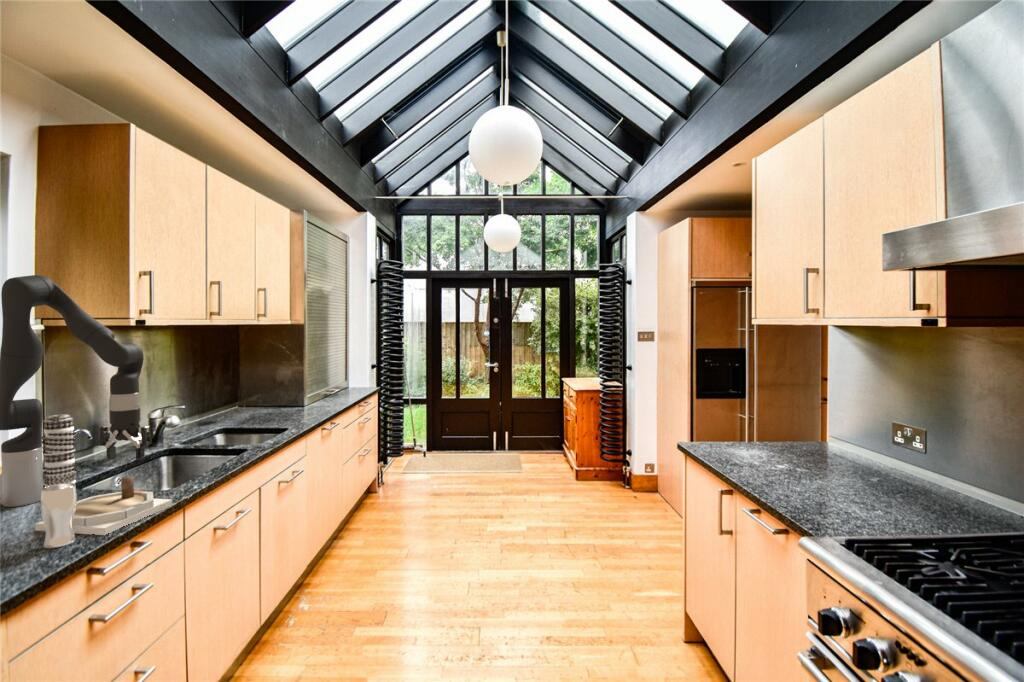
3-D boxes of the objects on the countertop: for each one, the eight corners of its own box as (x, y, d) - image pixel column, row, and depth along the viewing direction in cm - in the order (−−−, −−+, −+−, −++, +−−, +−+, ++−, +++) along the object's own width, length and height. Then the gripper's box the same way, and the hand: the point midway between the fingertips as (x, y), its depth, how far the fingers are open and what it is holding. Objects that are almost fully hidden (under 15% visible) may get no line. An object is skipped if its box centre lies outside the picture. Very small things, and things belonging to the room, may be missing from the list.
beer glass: (57, 537, 129) (55, 482, 129) (84, 537, 130) (83, 482, 130) (33, 549, 122) (32, 491, 122) (63, 548, 123) (61, 490, 123)
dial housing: (35, 530, 134) (35, 515, 134) (111, 502, 156) (111, 488, 156) (104, 535, 131) (104, 519, 131) (172, 505, 153) (171, 492, 153)
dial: (106, 522, 134) (106, 495, 134) (52, 519, 136) (52, 493, 136) (158, 500, 151) (157, 477, 151) (109, 498, 153) (108, 475, 152)
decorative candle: (84, 480, 177) (83, 413, 177) (57, 489, 168) (55, 418, 167) (63, 479, 179) (61, 412, 178) (35, 487, 169) (33, 417, 169)
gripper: (91, 409, 145) (92, 462, 146) (139, 410, 146) (139, 463, 146) (111, 405, 153) (112, 455, 154) (156, 405, 153) (157, 456, 154)
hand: (125, 459), depth 150 cm, fingers open, 8 cm apart
